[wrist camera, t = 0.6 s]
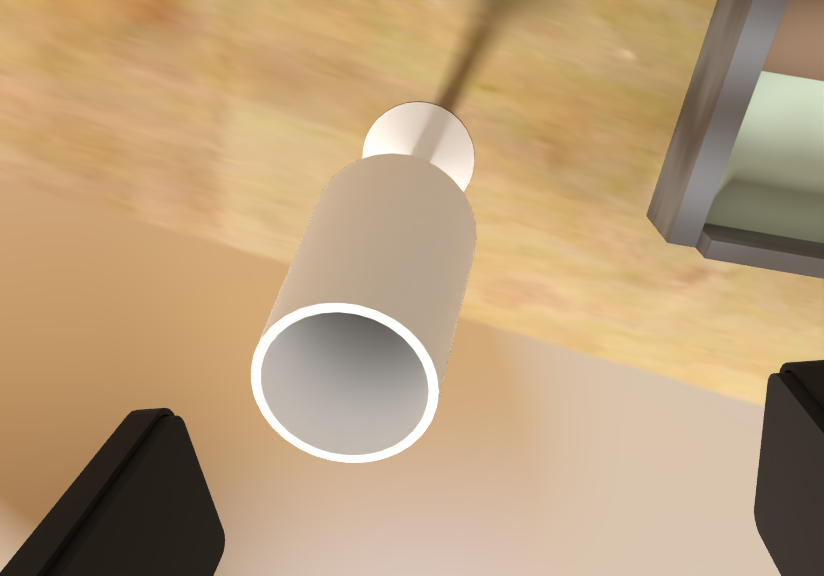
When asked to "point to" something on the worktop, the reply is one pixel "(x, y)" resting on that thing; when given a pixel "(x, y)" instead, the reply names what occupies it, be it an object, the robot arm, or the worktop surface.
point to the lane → (751, 141)
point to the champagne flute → (373, 294)
